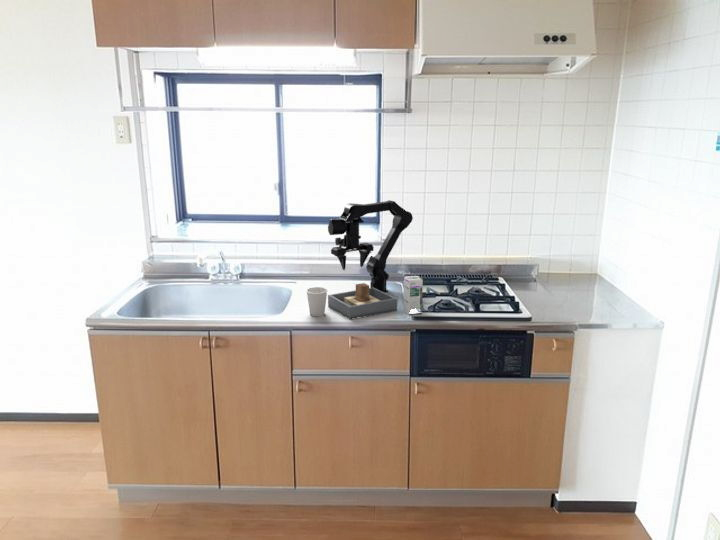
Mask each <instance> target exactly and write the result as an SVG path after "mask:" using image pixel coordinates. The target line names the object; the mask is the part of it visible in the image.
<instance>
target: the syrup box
mask: <svg viewBox="0 0 720 540" xmlns="http://www.w3.org/2000/svg"><path fill="white" fill-rule="evenodd" d="M423 281H424V280H423V278H422V277H420V276H418V275H414V276H412V275H411V276H404V277H403V311H404V313H406V315H408V314H409V312H410V310H411V309H415V308H416V309H423V286H424V285H423Z"/></svg>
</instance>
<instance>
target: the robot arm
mask: <svg viewBox="0 0 720 540" xmlns="http://www.w3.org/2000/svg"><path fill="white" fill-rule="evenodd" d="M381 212H389V213H390V214H391V215H392V216H393V218H392V226H391V228H390V230H389V232H388V234H387V235H386V237H385V239H384V240H383V243H382V244H381V246H380V249H379V250H378V251H377V253H376V255H375V256H372V255H370V254H372V252H373V251H374V245H373V243H369V242H363V243H361V242H360V239H361V238H362V236H361V235H360V224H361V223H362V224H363V223H364V222H365V221H364V220H363V219H362V217H364V216H366V215H369V214H374V213H381ZM413 219H414V217H413V214H412V213H411V212H410V211H408V210H405V209H404V208H403V207H402V206H400V205H399V204H398V203H397V202H396V201H394V200H392V199H391V200H385V201H380V202H379V201H378V202H370V203H365V204H364V203H363V204H361V203H352V202H351V203H347V204H346V205H345V206H344V208H343V211H342V213H341V214H340V215H339V217H338V218H330V219H329V222H328V226H327V231H328V234H329V236H337V235H338V236H339V235H343V238H341V237H336V238H335V240H334V241H335V246H334V247H332V248H331V249H330V254H331V255H334V257H337V259H338V261H339V263H340V266H341V268H342V269H341V270H343V271H345V270H346V263H347V255H346V253H351V252H357V251H358V252H359V264H360V265H359V266H360V268H363V267H364V264H365V263H366V267H365V268H366V272H367V273H369V276H370V277H371V280H370V284H369V288H373V287H374V288H376V289H378V290H380V291H382V292H384V293H388V292H389V290H388V289H387V282H388V281H387V280H389V277H390V274H389V273H387V272H386V267H387V259H388V257H389V256H390V254H391V252H392V250H393V248H394V246H395V245H396V243H397V241H398V239H399V238H400V236H401V234H402V233H403V231H404V230H406V229H407V228H408V227H409V226H410V224H411V223H412V222H413ZM369 255H370V257H369ZM368 257H369V259H368ZM367 259H368V261H367V262H366V260H367Z"/></svg>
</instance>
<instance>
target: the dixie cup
mask: <svg viewBox="0 0 720 540" xmlns="http://www.w3.org/2000/svg"><path fill="white" fill-rule="evenodd" d="M305 292H306V295H307V296H306V297H307V303H308V308H309V309H308V310H309V316H311V315H312V316H311V317H315V316H318V317H323V316H325V314H326V313H325V311H326V303H327V301H326V300H327V297H328V289H327V288H325V287H321V286H312V287H308V288H307V289H306V290H305ZM322 315H323V316H322Z"/></svg>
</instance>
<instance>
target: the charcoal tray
mask: <svg viewBox="0 0 720 540" xmlns="http://www.w3.org/2000/svg"><path fill="white" fill-rule="evenodd" d="M369 295H371V296H373V297H375V298H377V299H379V300H381V301H377V302H371V303H366V304H360V305H355V306H350V305H348V304H346V303H344V298H345V297H350V296H356V289H355V290H349V291H344V292H339V293H338V292H337V293H333V294H327V306H328V308H329V309H331V310H333V311H334V312H336V313H338V314H340V315H341V316H343V317H345V318H346V317H347V318H346V319H348V318H349V319H348V320H350V319H351V320H353V319H352V318H356V319H358V318H357V317H361V318H364V316H366V317H370V316H369V315H371V316H375V314H376V315H380V313H381V314H386V313H390V312H396V311H398V298H397V297H395V296H393V295H391V294H389V293H387V292H382V291H380V290H378V289H376V288H374V287H373V288H370V287H369Z"/></svg>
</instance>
